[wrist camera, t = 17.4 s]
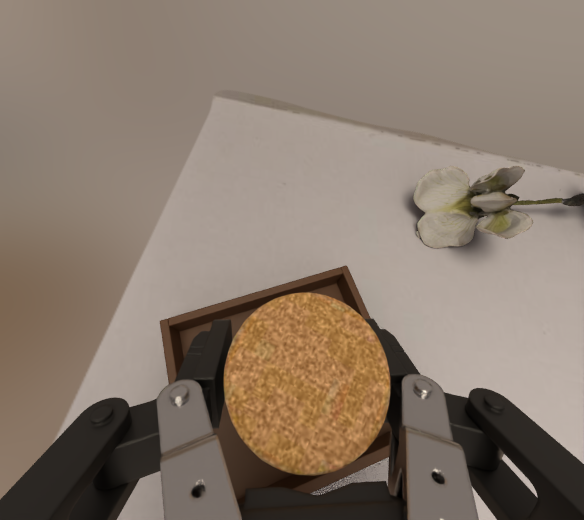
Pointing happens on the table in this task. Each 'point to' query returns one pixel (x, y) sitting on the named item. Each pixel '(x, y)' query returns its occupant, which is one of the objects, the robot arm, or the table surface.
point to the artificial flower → (472, 206)
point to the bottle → (307, 384)
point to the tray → (237, 455)
